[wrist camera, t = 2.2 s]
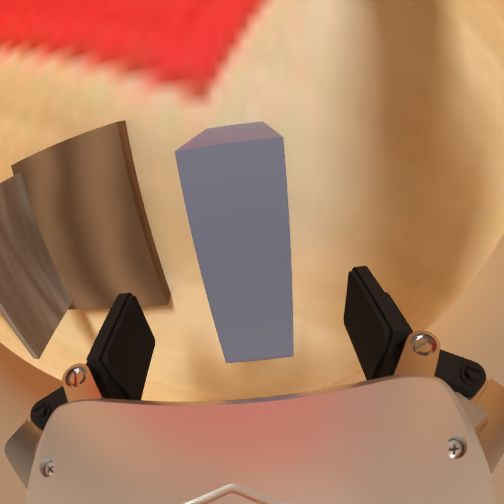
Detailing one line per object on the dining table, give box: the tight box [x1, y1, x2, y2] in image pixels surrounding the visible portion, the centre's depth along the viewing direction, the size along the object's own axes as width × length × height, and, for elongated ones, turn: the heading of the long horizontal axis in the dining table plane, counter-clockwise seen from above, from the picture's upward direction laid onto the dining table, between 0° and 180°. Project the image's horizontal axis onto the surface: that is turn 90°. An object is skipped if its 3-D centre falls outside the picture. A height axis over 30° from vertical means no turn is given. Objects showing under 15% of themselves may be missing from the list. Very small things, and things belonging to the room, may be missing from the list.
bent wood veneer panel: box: [0, 121, 171, 359], centre depth 17 cm, size 12×16×10 cm
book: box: [175, 122, 293, 363], centre depth 17 cm, size 4×12×10 cm, turn 6°
